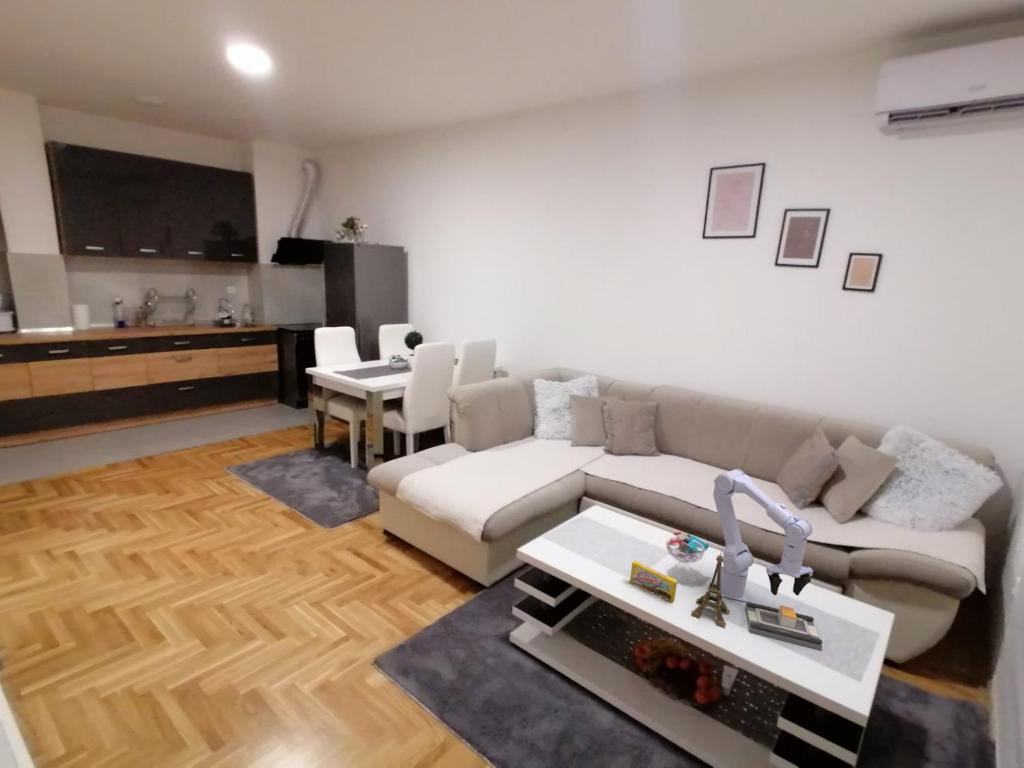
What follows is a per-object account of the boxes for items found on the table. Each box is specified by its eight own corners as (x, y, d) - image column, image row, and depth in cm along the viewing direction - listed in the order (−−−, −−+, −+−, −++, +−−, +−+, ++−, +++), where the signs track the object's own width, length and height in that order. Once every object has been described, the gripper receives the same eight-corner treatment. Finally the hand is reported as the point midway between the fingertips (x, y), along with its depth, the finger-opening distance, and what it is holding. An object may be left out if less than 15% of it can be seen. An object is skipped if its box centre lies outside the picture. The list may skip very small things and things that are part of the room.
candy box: (629, 582, 183) (631, 562, 181) (631, 580, 184) (634, 559, 182) (672, 603, 172) (675, 582, 171) (674, 601, 174) (678, 579, 172)
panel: (749, 632, 161) (750, 624, 160) (744, 607, 173) (746, 599, 172) (821, 650, 155) (823, 642, 154) (811, 623, 167) (813, 615, 166)
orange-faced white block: (780, 627, 162) (782, 614, 161) (777, 617, 166) (779, 605, 165) (794, 630, 160) (796, 618, 159) (791, 620, 165) (793, 608, 164)
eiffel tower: (729, 610, 171) (742, 543, 165) (724, 628, 162) (737, 558, 156) (697, 599, 176) (708, 533, 170) (690, 615, 167) (702, 547, 161)
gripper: (778, 563, 158) (770, 601, 161) (822, 563, 159) (813, 601, 162) (765, 550, 165) (758, 587, 168) (808, 551, 166) (799, 587, 169)
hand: (784, 593), depth 166 cm, fingers open, 7 cm apart
